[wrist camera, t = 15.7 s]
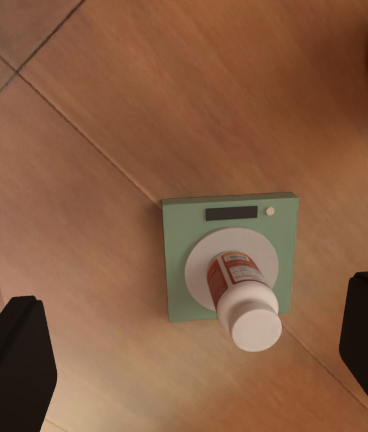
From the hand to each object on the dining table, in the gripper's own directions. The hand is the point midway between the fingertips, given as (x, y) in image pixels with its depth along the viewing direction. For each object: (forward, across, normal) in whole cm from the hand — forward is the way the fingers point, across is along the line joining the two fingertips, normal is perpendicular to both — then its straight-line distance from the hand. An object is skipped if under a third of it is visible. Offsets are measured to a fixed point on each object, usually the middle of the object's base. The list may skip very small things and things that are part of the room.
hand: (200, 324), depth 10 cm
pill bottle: (+27, -7, +14) cm, 31 cm away
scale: (+30, -7, +13) cm, 34 cm away
